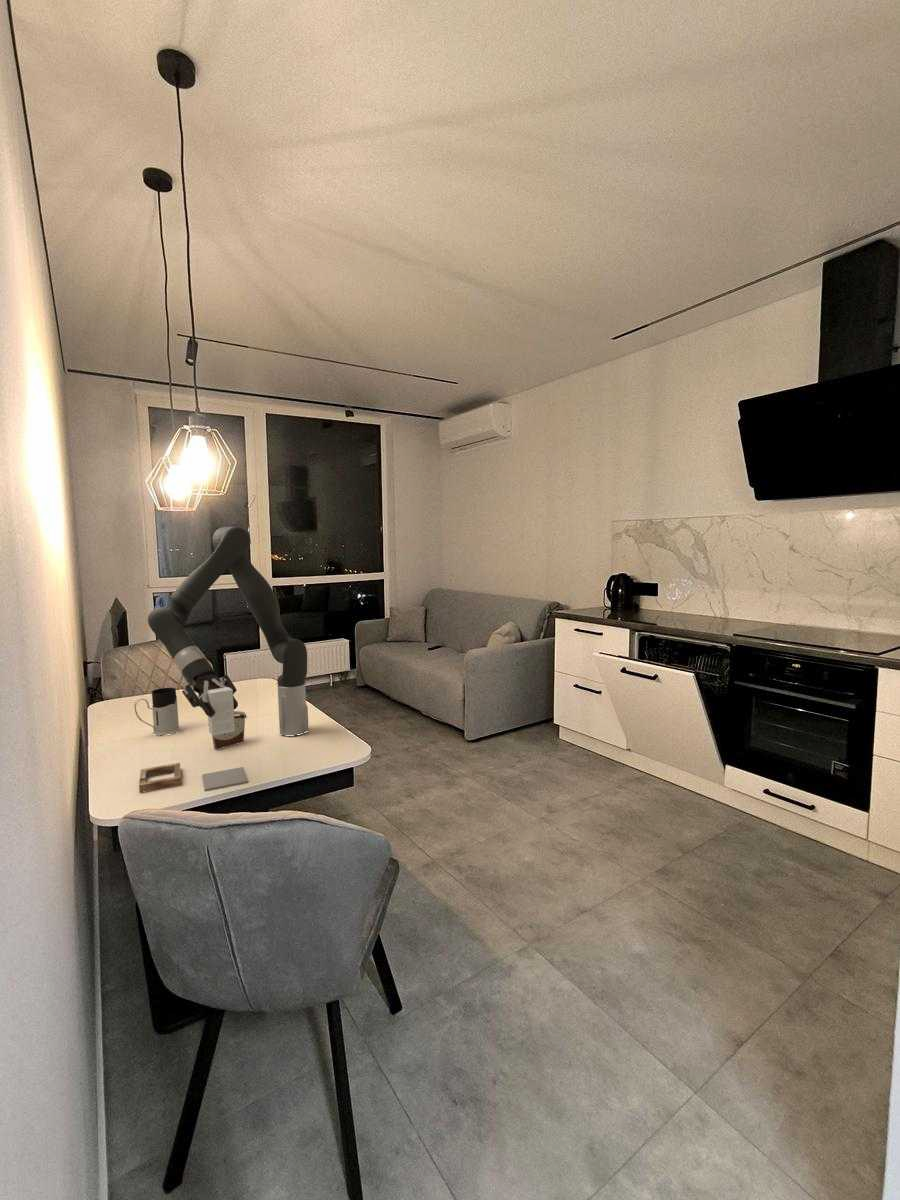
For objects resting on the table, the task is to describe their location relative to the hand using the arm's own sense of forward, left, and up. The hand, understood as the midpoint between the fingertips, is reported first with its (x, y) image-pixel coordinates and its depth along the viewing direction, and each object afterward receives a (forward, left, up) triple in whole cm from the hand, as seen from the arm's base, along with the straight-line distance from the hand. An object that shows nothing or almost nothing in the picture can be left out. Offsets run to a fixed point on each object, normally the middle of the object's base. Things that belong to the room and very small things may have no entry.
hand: (224, 711), depth 152 cm
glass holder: (+18, -53, -20) cm, 59 cm away
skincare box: (+1, -1, -6) cm, 6 cm away
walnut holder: (+17, -9, -20) cm, 28 cm away
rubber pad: (+1, -1, -20) cm, 20 cm away
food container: (-2, -31, -20) cm, 37 cm away
